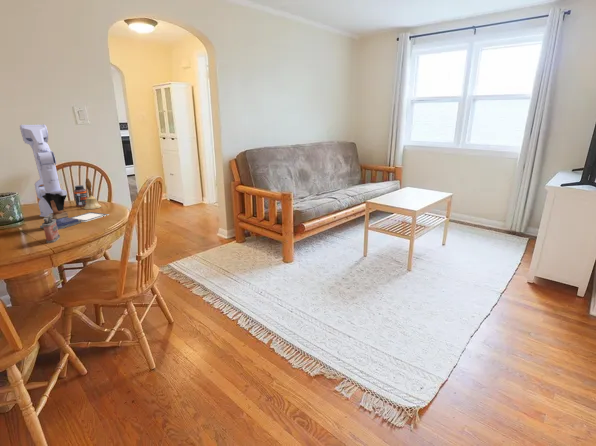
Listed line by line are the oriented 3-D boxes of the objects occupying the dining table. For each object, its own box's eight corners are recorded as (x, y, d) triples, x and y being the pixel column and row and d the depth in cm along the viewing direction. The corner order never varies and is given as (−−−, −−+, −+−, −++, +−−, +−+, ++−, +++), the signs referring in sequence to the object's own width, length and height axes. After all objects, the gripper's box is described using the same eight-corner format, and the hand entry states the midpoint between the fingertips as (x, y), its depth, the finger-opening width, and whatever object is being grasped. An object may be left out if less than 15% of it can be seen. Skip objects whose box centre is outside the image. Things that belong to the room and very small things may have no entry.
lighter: (54, 242, 132) (48, 218, 129) (44, 243, 131) (38, 219, 128) (61, 236, 139) (56, 212, 136) (52, 236, 138) (46, 213, 135)
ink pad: (40, 228, 150) (39, 223, 149) (66, 220, 160) (65, 216, 160) (55, 230, 146) (54, 226, 146) (81, 222, 157) (80, 218, 156)
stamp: (50, 218, 151) (45, 201, 148) (61, 215, 155) (57, 198, 153) (57, 219, 149) (53, 202, 147) (68, 216, 153) (64, 199, 151)
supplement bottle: (83, 207, 185) (79, 187, 181) (74, 206, 186) (69, 186, 182) (91, 204, 190) (87, 184, 187) (82, 204, 191) (78, 184, 188)
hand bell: (91, 205, 188) (85, 177, 184) (104, 205, 187) (99, 177, 182) (80, 209, 181) (73, 179, 176) (93, 209, 179) (88, 180, 174)
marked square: (66, 219, 163) (66, 218, 163) (91, 212, 174) (90, 211, 174) (85, 222, 158) (84, 221, 158) (109, 214, 169) (109, 214, 169)
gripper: (30, 180, 146) (37, 210, 150) (52, 182, 141) (59, 213, 145) (47, 178, 152) (53, 207, 156) (68, 179, 147) (75, 209, 151)
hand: (57, 210), depth 151 cm, fingers closed on stamp, 4 cm apart
